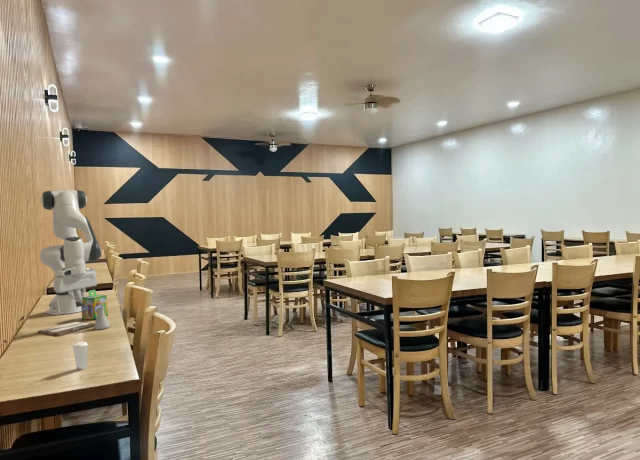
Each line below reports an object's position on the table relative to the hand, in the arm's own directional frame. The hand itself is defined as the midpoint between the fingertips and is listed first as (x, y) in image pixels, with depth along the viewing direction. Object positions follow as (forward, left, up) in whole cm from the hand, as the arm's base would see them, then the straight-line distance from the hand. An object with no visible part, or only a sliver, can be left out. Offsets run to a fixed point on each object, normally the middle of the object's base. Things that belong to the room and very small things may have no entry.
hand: (77, 298), depth 212 cm
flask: (+14, +2, -14) cm, 20 cm away
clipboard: (-1, -5, -14) cm, 15 cm away
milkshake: (+60, -39, -14) cm, 73 cm away
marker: (+1, 0, -4) cm, 4 cm away
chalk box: (-11, +16, -14) cm, 24 cm away
